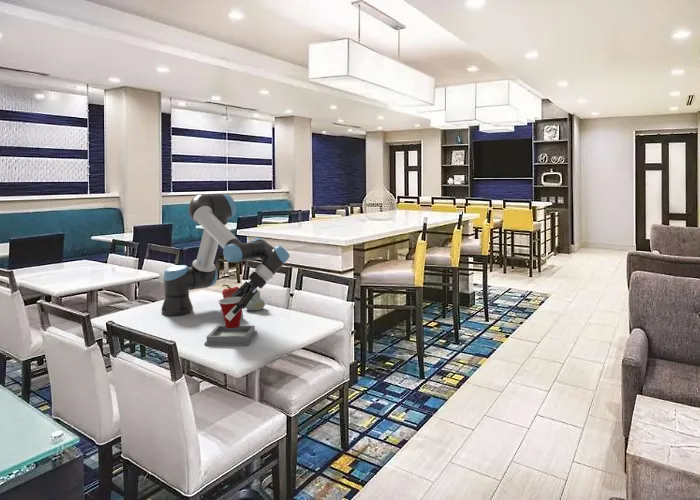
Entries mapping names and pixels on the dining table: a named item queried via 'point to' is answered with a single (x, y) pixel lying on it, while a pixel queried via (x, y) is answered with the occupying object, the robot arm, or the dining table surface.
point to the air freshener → (255, 303)
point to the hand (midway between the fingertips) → (224, 315)
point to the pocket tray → (231, 336)
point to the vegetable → (229, 291)
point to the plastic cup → (226, 307)
